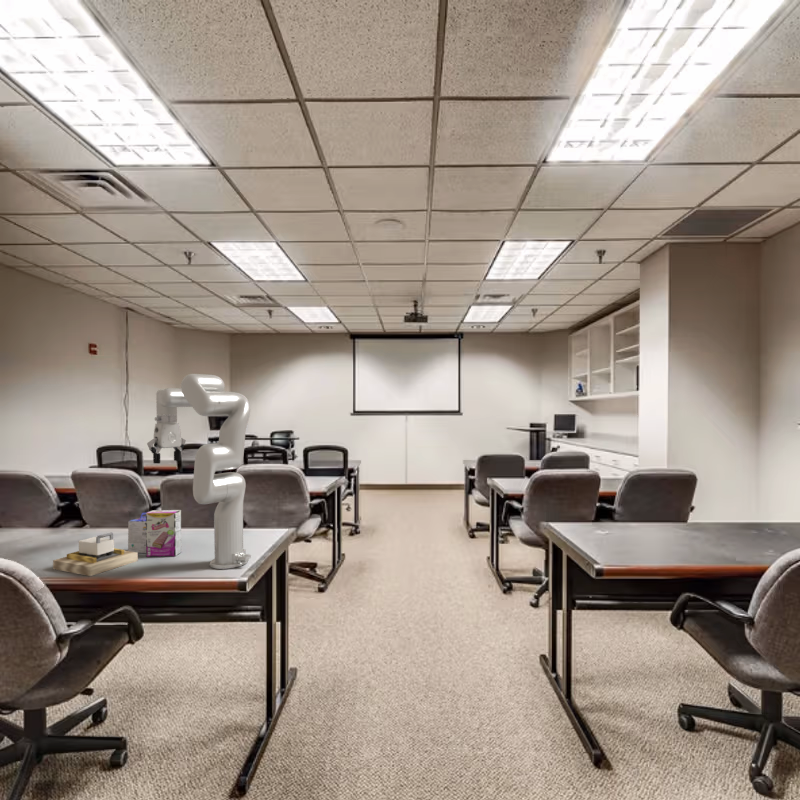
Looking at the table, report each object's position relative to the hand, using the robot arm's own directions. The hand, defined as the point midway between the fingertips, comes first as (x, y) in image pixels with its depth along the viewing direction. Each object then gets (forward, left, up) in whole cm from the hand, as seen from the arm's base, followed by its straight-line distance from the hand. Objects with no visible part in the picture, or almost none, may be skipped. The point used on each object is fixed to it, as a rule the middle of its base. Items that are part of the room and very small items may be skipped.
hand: (167, 462), depth 194 cm
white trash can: (+2, +28, -30) cm, 41 cm away
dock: (+2, +28, -33) cm, 44 cm away
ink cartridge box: (+1, +10, -34) cm, 35 cm away
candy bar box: (-11, +11, -34) cm, 37 cm away
